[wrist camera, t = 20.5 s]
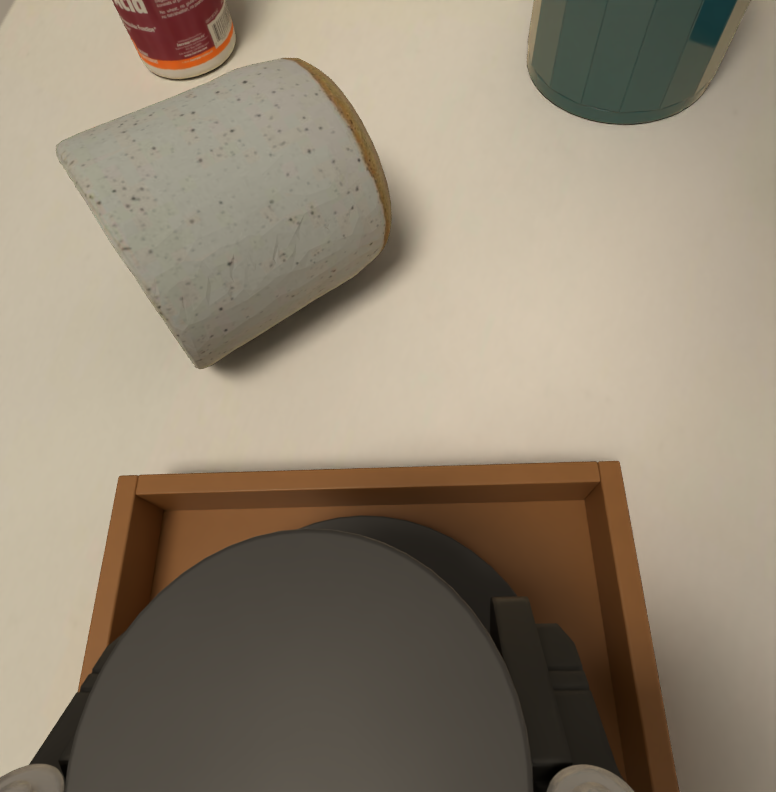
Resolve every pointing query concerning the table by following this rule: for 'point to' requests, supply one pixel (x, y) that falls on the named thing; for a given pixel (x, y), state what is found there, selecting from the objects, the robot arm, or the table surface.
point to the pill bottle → (179, 34)
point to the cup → (628, 54)
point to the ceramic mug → (236, 200)
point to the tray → (446, 513)
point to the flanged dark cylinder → (312, 673)
